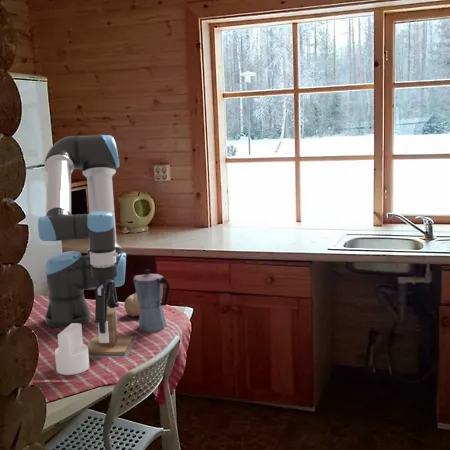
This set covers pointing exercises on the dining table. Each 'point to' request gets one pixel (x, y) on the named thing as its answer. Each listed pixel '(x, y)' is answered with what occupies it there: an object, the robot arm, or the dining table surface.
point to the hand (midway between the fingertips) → (108, 335)
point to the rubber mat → (115, 355)
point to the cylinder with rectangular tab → (71, 351)
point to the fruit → (132, 305)
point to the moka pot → (151, 301)
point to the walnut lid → (110, 340)
